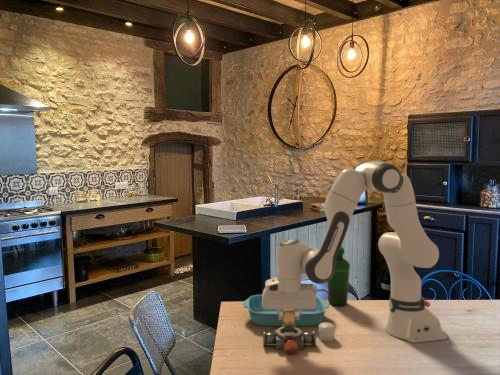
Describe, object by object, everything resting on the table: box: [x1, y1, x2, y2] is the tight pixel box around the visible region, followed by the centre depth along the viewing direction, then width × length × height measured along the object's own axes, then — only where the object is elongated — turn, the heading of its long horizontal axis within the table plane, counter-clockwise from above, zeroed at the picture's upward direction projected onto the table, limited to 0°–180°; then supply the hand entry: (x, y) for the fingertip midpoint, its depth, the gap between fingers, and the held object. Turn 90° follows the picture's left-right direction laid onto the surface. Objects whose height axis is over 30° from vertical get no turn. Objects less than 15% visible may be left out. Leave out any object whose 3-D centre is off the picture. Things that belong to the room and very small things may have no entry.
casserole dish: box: [242, 294, 330, 327], centre depth 173 cm, size 37×22×7 cm, turn 90°
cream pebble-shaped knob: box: [318, 322, 336, 343], centre depth 154 cm, size 6×6×5 cm
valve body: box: [262, 326, 317, 356], centre depth 147 cm, size 19×12×5 cm, turn 90°
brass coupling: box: [282, 309, 296, 329], centre depth 148 cm, size 5×5×6 cm
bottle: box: [327, 244, 351, 307], centre depth 188 cm, size 11×11×28 cm
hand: (288, 319), depth 148 cm, fingers closed on brass coupling, 5 cm apart
